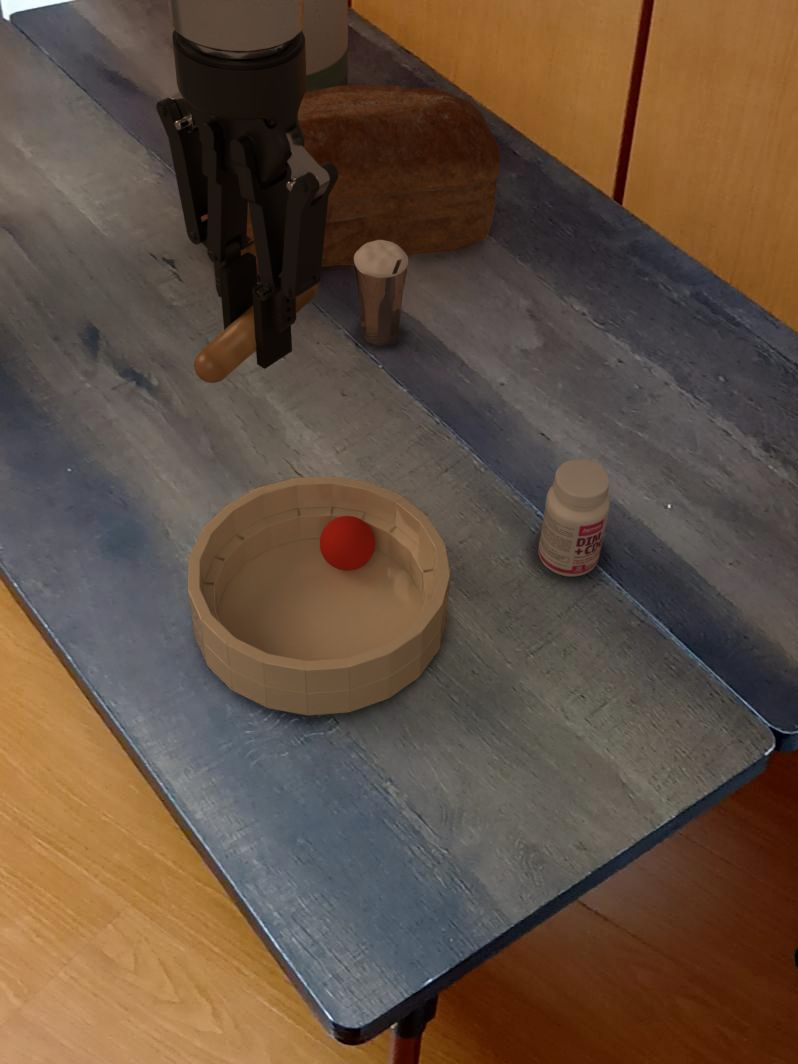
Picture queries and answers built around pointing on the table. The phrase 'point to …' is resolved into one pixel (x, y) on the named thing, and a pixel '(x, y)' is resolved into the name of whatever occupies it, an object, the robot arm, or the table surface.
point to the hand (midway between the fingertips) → (258, 347)
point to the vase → (326, 43)
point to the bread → (399, 169)
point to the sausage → (235, 344)
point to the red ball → (347, 543)
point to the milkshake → (380, 290)
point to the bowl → (317, 597)
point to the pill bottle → (575, 518)
